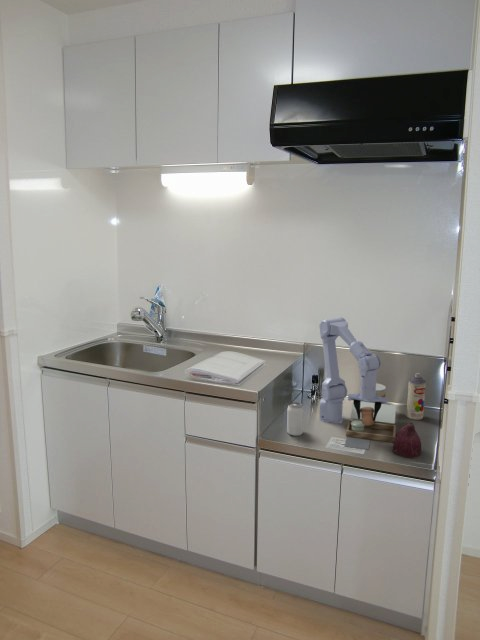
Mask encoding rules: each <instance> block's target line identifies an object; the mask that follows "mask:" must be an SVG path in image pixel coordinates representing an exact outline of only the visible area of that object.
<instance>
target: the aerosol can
mask: <svg viewBox="0 0 480 640" xmlns="http://www.w3.org/2000/svg"><path fill="white" fill-rule="evenodd" d="M426 384H427V383H426V380H425V379H424V378H423V377H422V376H421V373H420V372H415V375H414V376H412V377H411V378H409V380H408V387H407V400H406V401H407V402H406V417H407V418H408V419H411V420H415V421H419V420H422V419H423V418H424V411H425V410H424V409H425V397H426Z"/></svg>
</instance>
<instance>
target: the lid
mask: <svg viewBox="0 0 480 640" xmlns="http://www.w3.org/2000/svg"><path fill="white" fill-rule="evenodd" d="M352 401H353V402H354V400H352ZM353 402H352V408H351V414H350V420H356V421H362V414H361V412H360V419H358V415H357V411H356V409H355V407H354V404H353ZM374 405H375V403H369V402H364V401H361V403H360V409H361V408H363V407H372V408H373V409H374ZM396 411H397V405H394V404H388V403H387V404H381V408H380V409H379V411H378V413H377V416H376V419H375V421H374V423H381V424H389V425H395V424H396ZM373 418H374V413H373Z"/></svg>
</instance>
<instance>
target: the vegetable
mask: <svg viewBox="0 0 480 640" xmlns="http://www.w3.org/2000/svg"><path fill="white" fill-rule="evenodd" d="M392 443H393V445H392V453H393V454H395V456H399V457H402V458H407V459H414V458H418V457H420V456H421V454H422V443H421V439H420V437H419V435H418V433H417V431H416V428H415V424H414V423H413V422H411V421H410V422H408V423H406V424H405V425H403V426H402V427H401V428H400V429H398V431H397V432H396V434H395V440H394V442H392Z"/></svg>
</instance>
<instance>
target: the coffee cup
mask: <svg viewBox="0 0 480 640" xmlns="http://www.w3.org/2000/svg"><path fill="white" fill-rule="evenodd" d="M386 393H387V388H386V385H384V384H382V383H378V382H376V396H380V397H385V398H386ZM369 403H375V402H369ZM382 404H384V403H382Z"/></svg>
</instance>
